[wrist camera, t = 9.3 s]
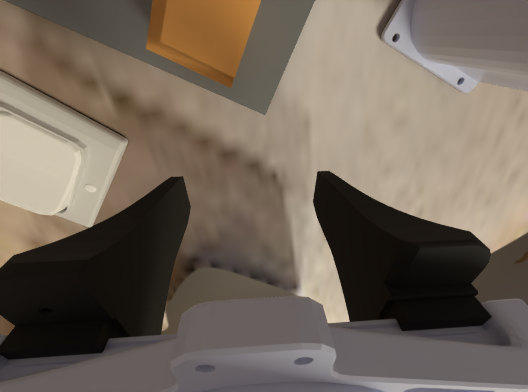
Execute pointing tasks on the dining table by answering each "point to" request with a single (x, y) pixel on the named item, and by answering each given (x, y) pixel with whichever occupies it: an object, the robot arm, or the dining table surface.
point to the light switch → (53, 155)
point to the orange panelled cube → (202, 34)
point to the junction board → (134, 44)
